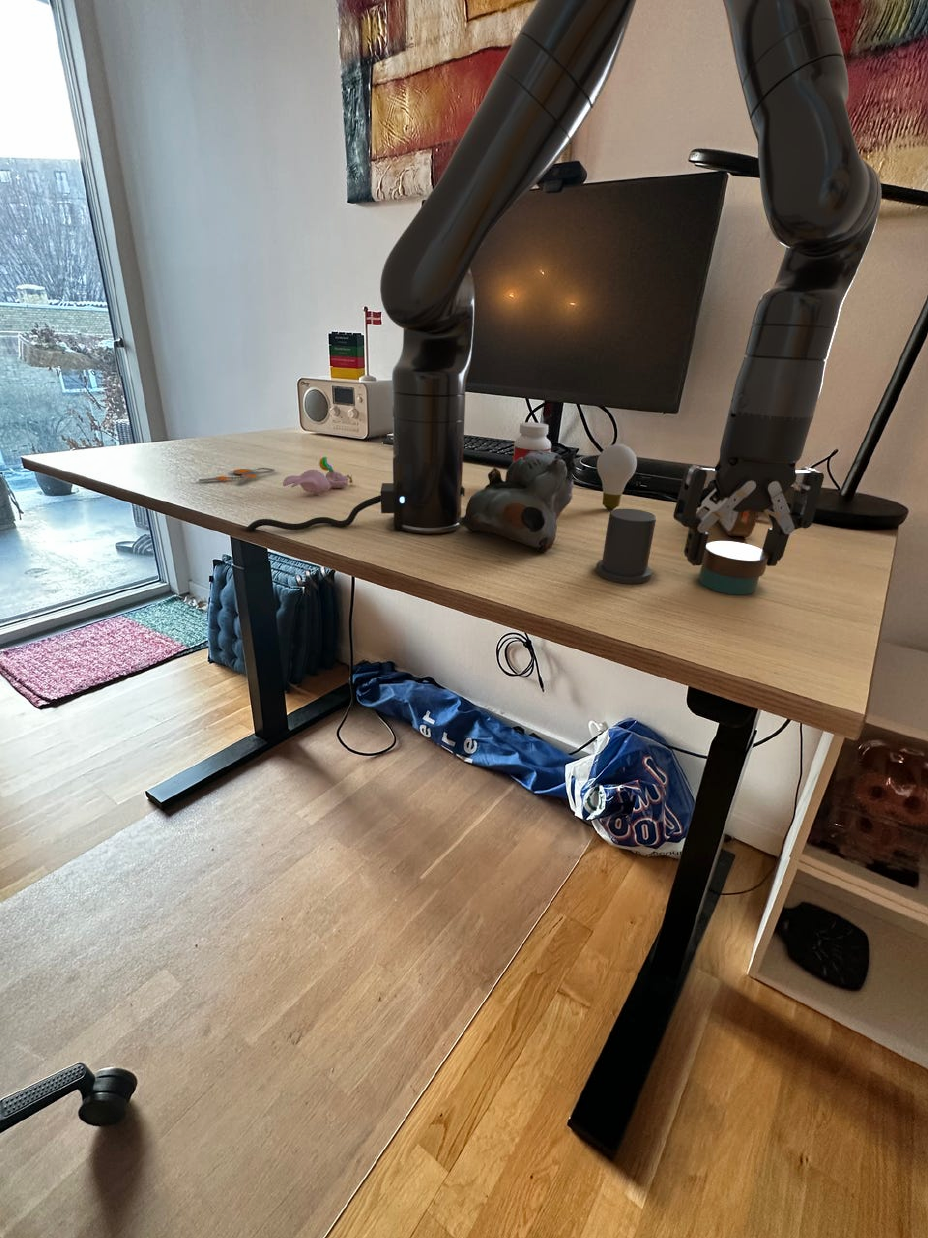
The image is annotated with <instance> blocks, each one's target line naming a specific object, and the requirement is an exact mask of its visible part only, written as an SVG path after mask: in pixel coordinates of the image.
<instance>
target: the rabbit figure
mask: <svg viewBox="0 0 928 1238" xmlns="http://www.w3.org/2000/svg"><path fill="white" fill-rule="evenodd" d="M327 460H328V457H327V456H323V457H321V458H320V459H319V462H318V465H319V468H320V469H321V470H323V471H326V472H327V473H326V474H324V473H323V472H321V471H320V470H318V469H317V470H316V469H309V470H306V471H304V472H302V473H301V474H299V475H289V476H286V477H285V478H284V479H283V482H282V486H283V487H287V486H290V488H294V487H295V488H296V487H297V486H300V487H301V488H302V490H303V491H305V492H307V493H310V494H311V493H313V496H317V495H318V496H321V495H322V494H323V493H326V492H328V491H329V490H330V489H331V488H332V489H345V488H346V487H347V486H348V484H350V486H352V485H354V481H353V477H352V476H353V474H346V475H343V474H342V473H341V472H338V471H336V470H334V468H333V467H332V466H331V464H329V463H328V461H327Z"/></svg>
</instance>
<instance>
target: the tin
mask: <svg viewBox="0 0 928 1238" xmlns="http://www.w3.org/2000/svg"><path fill="white" fill-rule="evenodd" d="M721 502H722V501H721V500H720V501H719V502H718V503H717V504H720V503H721ZM758 515H759V512H755V511H752V510H748V511H744V512H735V511H733V510H731V511H730V512H729V513H728V514H727V515H726V516H725V517H724V518H721V519H719V520H717V522H718V523H719V524H720V526H721V527H722V528H723V531H725V533H726V534H727V535H728V536H730V537H744V538H748V537H750V536H751V535H752V533H753V532H754V529H755V527H756V523H757V520H758Z"/></svg>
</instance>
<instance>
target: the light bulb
mask: <svg viewBox="0 0 928 1238" xmlns="http://www.w3.org/2000/svg"><path fill="white" fill-rule="evenodd" d="M637 466H638V460H637V455H636V453H635V452H634V450H633V449H632V448H631V447H629V446H628V445H626V444H622V443H616V444H615V443H613V444H611V445H609V446H607V447H606V448H604V449H603V450H602V451H601V452H600V454H599V456H598V458H597V462H596V470H597V473H598V476H599V478H600V481H601V484H602V491H603V492H602V503H601V504H602V505H603V506H604V507H605V508H606V509H607V510H608V511H612V510H615V509H617V508H618V507H619V506H620V503H621V497H622V494H623V492H624V491H625V488H626V485H627V483H628V482H629V481H630V479H632V477H633V476H634V474H635V472H636V471H637Z"/></svg>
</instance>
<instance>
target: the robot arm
mask: <svg viewBox="0 0 928 1238" xmlns="http://www.w3.org/2000/svg"><path fill="white" fill-rule="evenodd" d="M636 3H637V0H537V1H536V4H535V5H534V7H533V8H532V10H531V11H530V14H529V15H528V17H527V19H526V20H525V22H524V24H523V25H522V26H521V28H520V30H519V33H518V34H517V36H516V38H515V39H514V41H513V43H512V44H511V46H510V48H509V49H508V52H507V54H506V55H505V57H504V59H503V61H502V62H501V65H500V66H499V68H498V70H497V72H496V73H495V75H494V77H493V79H492V81H491V83H490V85H489V87H488V89H487V91H486V93H485V95H484V97H483V99H482V101H481V103H480V105H479V106H478V107H477V110H476V111H475V113H474V115H473V117H472V119H471V121H470V122H469V124H468V126H467V128H466V129H465V131H464V133H463V135H462V137H461V139H460V141H459V142H458V144H457V146H456V148H455V150H454V152H453V154H452V155H451V158H450V160H449V162H448V163H447V166H446V167H445V169H444V171H443V172H442V174H441V176H440V177H439V179H438V181H437V183H436V184H435V186H434V187H433V189H432V191H430V194H429V195H428V197H427V198H426V199H425V200H424V202H423V204H422V205H421V207H420V208H419V210H418V211H417V212H416V214H415V215H414V217H413V218H412V220H411V221H410V223H409V224H408V225H407V227H406V228H405V230H404V231H403V233H402V234H401V236H400V237H399V238H398V239H397V242H396V243H395V244H394V245H393V247H392V248H391V250H390V252H389V253H388V256H387V258H386V260H385V261H384V264H383V267H382V270H381V275H380V280H379V281H380V282H379V285H380V286H379V293H380V300H381V303H382V307H383V309H384V312H385V313H386V314H387V316H388V318H389V319H390V320H391V321H392V322H393V323H394V324H395V325H397V326H398V327H399V328H402V329H403V336H402V337H403V338H402V339H403V340H402V349H401V353H400V356H399V359H398V360H397V362H396V364H395V365H394V367H393V368H392V372H391V391H392V392H391V393H392V394H391V395H392V442H393V443H392V446H393V447H392V448H393V449H392V450H393V451H392V453H393V456H392V482H381V487H380V494H379V495H377V496H374V497H372V498H368V499H366V500H364V501H362V502H360V503H359V504H357V505H355V506H354V507H353V508H352V510H351V511H350V512H349V515H348V516H347V518H346V519H343V520H338V519H334V518H331V517H327V516H319V517H314V518H311V519H308V520H306V521H304V522H299V523H298V522H297V523H289V522H284V521H280V520H276V519H273V518H272V519H271V518H260V519H256V520H254V521H253V522H251V523H250V524H249V525H248V526H247V527H246V528H245V530H244V532H246V533H249V532H253V531H255V530H256V529H258V528H260V527H264V526H265V527H272V528H273V527H274V528H277V529H281V530H286V531H302V530H305V529H309V528H311V527H313V526H315V525H320V524H321V525H322V524H327V525H331V526H334V527H337V528H345V527H348V526H350V525H351V524H352V523H353V522H354V521H355V519H356V517H357V515H358V514H359V513H360V512H362V510H364V509H366V508H368V507H370V506H373V505H376V504H379V503H380V513H381V514H393V530H395V531H404V532H408V533H415V534H424V535H425V534H426V535H434V534H437V535H438V534H445V533H450V532H454V531H456V530H458V529H460V528H461V526H462V525H460V524H459V523H458V520H459V519H460V518H461V517H462V499H463V497H465V487H464V486H463V473H464V472H463V470H464V443H465V441H464V440H465V416H466V386H467V377H468V375H469V371H470V369H471V365H472V364H471V363H472V354H473V340H474V328H475V327H474V325H475V306H476V292H475V281H474V277H473V273H472V271H471V266H472V265H473V263H474V261H475V259H476V258H477V256H478V254H479V252H480V250H481V249H482V247H483V246H484V243H485V242H486V240H487V239H488V238H489V236H490V234H491V232H492V231H493V230H494V229H495V227H496V226H497V224H498V223H499V222H500V221H501V220H502V218H503V217H505V215H506V214H507V213H508V212H509V211H510V210H511V209H512V208H513V207H514V206H515V205H516V204H517V203H518V202H519V201H520V200H522V198H524V196H526V195H527V194H528V192H530V190H532V189H533V188H534V187H535V186H536V184H537V183H539V182H540V180H541V179H542V178H543V177H544V176H546V174H547V173H548V172H549V171H550V170H551V168H552V167H553V166H554V165H555V164H556V163H557V161H558V160H559V158H560V157H561V156H562V155H563V153H564V152H565V151H566V149H567V147H569V145H570V144H571V142H572V140H573V139H574V137H575V136H576V134H577V133H578V131H579V130H580V128H581V126H582V125H583V123H584V122H585V120H586V119H587V117H588V116H589V114H590V113H591V111H592V109H593V108H594V106H595V104H596V103H597V101H598V99H599V98H600V96H601V95H602V92H603V90H604V89H605V87H606V85H607V83H608V80H609V78H610V76H611V73H612V71H613V69H614V66H615V63H616V61H617V58H618V56H619V53H620V50H621V47H622V44H623V41H624V40H625V37H626V34H627V30H628V27H629V24H630V20H631V18H632V14H633V11H634V8H635V6H636ZM722 3H723V6H724V11H725V15H726V20H727V25H728V30H729V35H730V41H731V44H732V51H733V55H734V60H735V65H736V69H737V74H738V78H739V82H740V87H741V89H742V93H743V97H744V102H745V105H746V109H747V113H748V117H749V120H750V124H751V128H752V130H753V134H754V136H755V138H756V142H757V162H758V163H757V164H758V174H759V185H760V193H761V201H762V206H763V211H764V214H765V217H766V220H767V222H768V226H769V228H770V230H771V232H772V234H773V236H774V237H775V238H776V240H777V241H778V242H779V243H780V244H782V245H783V246H784V247H786V248H785V251H784V255H783V258H782V261H781V265H780V267H779V270H778V274H777V277H776V279H775V282H774V285H773V286H772V288H770V289H768V290H766V291H765V292H764V293H763V295H762V296H761V297H760V299H759V301H758V303H757V306H756V308H755V312H754V315H753V319H752V323H751V324H752V325H751V328H750V331H749V336H748V341H747V344H746V349H745V353H744V356H743V360H742V363H741V366H740V368H739V372H738V374H737V377H736V380H735V383H734V388H733V391H732V396H731V399H730V400H731V401H730V405H729V408H728V413H727V417H726V422H725V426H724V431H723V434H722V439H721V443H720V448H719V459H718V461H717V463H716V464H715V466H714V467H713V468H707V467H700V466H698V465H695V464H689V465H687V466H686V467H685V470H684V473H683V477H682V481H681V485H680V488H679V492H678V496H677V501H676V502H675V503H676V504H675V507H674V510H673V515H672V518H673V519H674V520H675V521H676V522H678V523H679V524H681V525H682V526H683V527H685V528H688V533H687V536H686V540H685V545H684V550H683V552H684V557H686V559H687V561H688V562H689V564H691V565H692V566H702V561H703V557H704V553H705V548H706V544H707V543H708V539H709V536H710V533H708V531H709V530H710V529H711V528H712V527H713V525H715V524H716V523H717V522H718V520H719V519H721V518H724V517H725V516H726V515H727V514H728V513H729V512H730V511H731V510H733V511H735V512H744V511H748V510H752V511H755V512H758V513H765V515H766V517H767V519H768V522H769V524H770V526H771V527H772V528H769V527H768V528H767V532H766V534H765V538H764V542H763V545H762V548H761V549H762V550H764V551H765V552H767V553H768V555H769V558H768V561H767V565H766V567H767V566H768V567H775V566H777V564H778V562H780V561H781V560H782V558H783V557H784V554H785V551H786V547H787V543H788V541H789V537H790V535H791V534H792V533H793V532H794V531H795V530H799V529H802V528H803V529H805V530H806V529H809V528H810V527H811V526H812V525H813V521H814V518H815V514H816V509H817V507H818V503H819V498H820V494H821V491H822V488H823V483H824V479H825V474H824V473H823V472H821V471H819V470H816V469H813V468H811V467H807V466H805V467H802V468H800V469H799V470H796V466H797V465H796V464H797V463H798V462H799V460H801V458H802V456H803V452H804V449H805V445H806V442H807V439H808V435H809V432H810V429H811V425H812V422H813V419H814V414H815V412H816V408H817V405H818V401H819V398H820V395H821V390H822V387H823V381H824V375H825V369H826V365H827V359H828V358H829V354H830V351H831V347H832V343H833V340H834V337H835V333H836V329H837V327H838V322H839V318H840V314H841V308H842V305H843V302H844V300H845V298H846V296H847V293H848V291H849V290H850V288H851V286H852V284H853V282H854V279H855V277H856V275H857V272H858V270H859V268H860V265H861V263H862V261H863V259H864V256H865V254H866V251H867V249H868V247H869V244H870V242H871V239H872V236H873V233H874V230H875V228H876V225H877V221H878V217H879V213H880V209H881V205H882V204H881V203H882V192H883V191H882V183H881V180H880V177H879V175H878V173H877V172H876V170H875V169H874V168H873V167H872V166H871V165H870V164H868V163H867V161H866V160H864V159H863V158H862V157H861V155H860V152H859V149H858V146H857V144H856V141H855V140H856V139H855V137H854V134H853V130H852V126H851V121H850V117H849V113H848V109H847V106H846V104H847V101H848V97H849V91H850V88H849V87H850V86H849V85H850V83H849V74H848V69H847V65H846V60H845V56H844V52H843V48H842V43H841V41H840V36H839V32H838V27H837V23H836V20H835V16H834V13H833V10H832V5H831V3H830V0H722ZM711 482H712V484H713V486H714V489H713V490H712V491H711V492H710V493H709V494H708V495H707V496H706V497H705V498H704V499H703V500H702V501H701V498H702V495H703V492H704V491H703V490H705V489H708V487H709V484H710V483H711ZM791 487H793V489H794V491H793V495H792V500H791V504H790V507H789V505H788V503H787V500H786V498H785V496H784V494H785V493H786V492H788V491H789V489H790V488H791ZM720 500H721V501H722V502H721V503H720V504H717V503H718V502H719V501H720ZM700 501H701V505H700V506H699V504H700Z"/></svg>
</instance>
